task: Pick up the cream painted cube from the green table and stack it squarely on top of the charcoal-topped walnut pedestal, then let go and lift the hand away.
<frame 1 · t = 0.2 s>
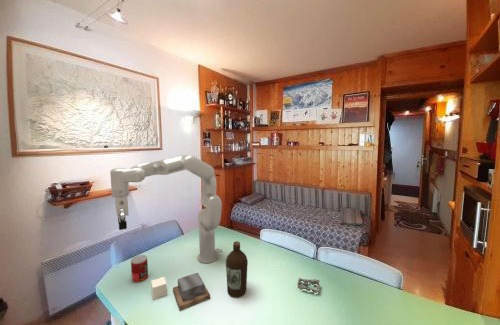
hand: (122, 225, 108), 31 cm above the table, tool pointing down, fingers open, 9 cm apart
cream cube: (159, 293, 103), on the table
pedestal: (191, 294, 102), on the table
olive oil: (236, 291, 105), on the table
canned food: (140, 278, 115), on the table
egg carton: (308, 289, 106), on the table
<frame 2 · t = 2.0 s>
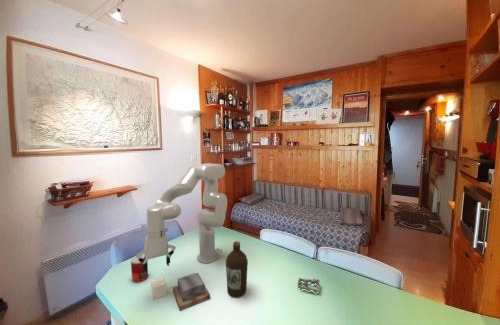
hand: (157, 267, 101), 14 cm above the table, tool pointing down, fingers open, 9 cm apart
nothing on the table moved.
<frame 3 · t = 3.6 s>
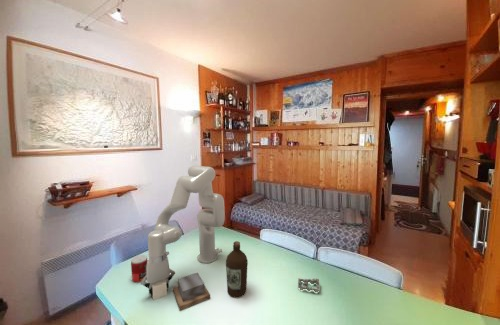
hand: (159, 291, 103), 1 cm above the table, tool pointing down, fingers closed on cream cube, 6 cm apart
cream cube: (159, 293, 103), on the table, touching gripper
everything else where it was.
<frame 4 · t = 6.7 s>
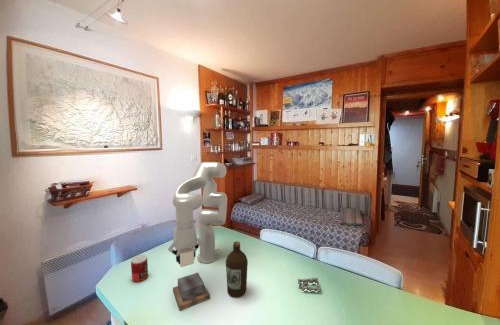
hand: (186, 260, 100), 17 cm above the table, tool pointing down, fingers closed on cream cube, 6 cm apart
cream cube: (186, 262, 100), point 17 cm above the table, touching gripper
everything else where it was.
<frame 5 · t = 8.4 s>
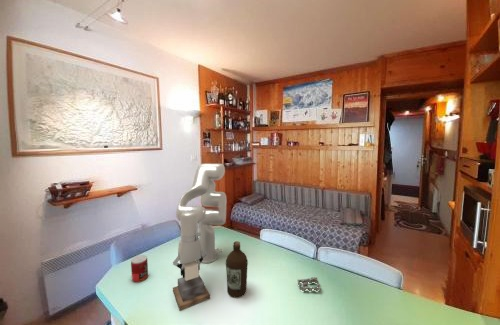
hand: (190, 273, 101), 11 cm above the table, tool pointing down, fingers closed on cream cube, 6 cm apart
cream cube: (190, 275, 101), point 10 cm above the table, touching gripper
when the fingers open (9 cm above the table, at t = 9.8 s): cream cube drops 1 cm, resting on pedestal.
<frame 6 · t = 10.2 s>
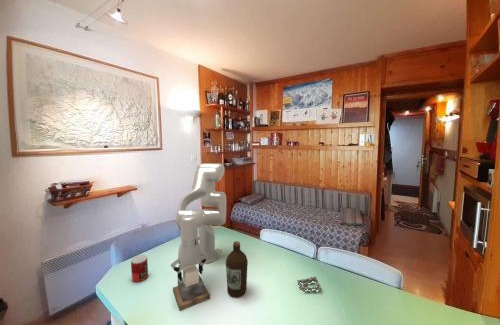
hand: (190, 275, 101), 10 cm above the table, tool pointing down, fingers open, 9 cm apart
cream cube: (190, 281, 101), point 7 cm above the table, touching pedestal
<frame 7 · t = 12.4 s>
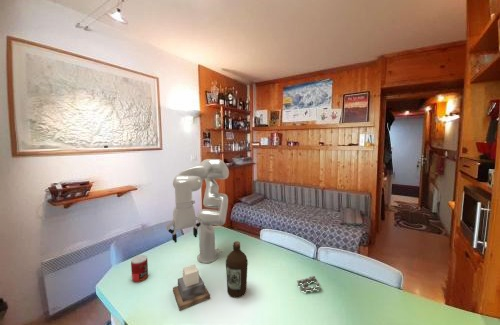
hand: (185, 238, 103), 26 cm above the table, tool pointing down, fingers open, 9 cm apart
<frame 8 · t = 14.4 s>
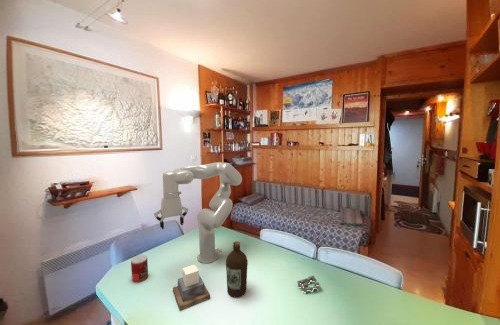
hand: (172, 226, 113), 28 cm above the table, tool pointing down, fingers open, 9 cm apart
at the end: cream cube 0.0 cm off-centre on the pedestal, point 7.0 cm above the pedestal's base; cream cube tilted 0°; the gripper is holding nothing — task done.
